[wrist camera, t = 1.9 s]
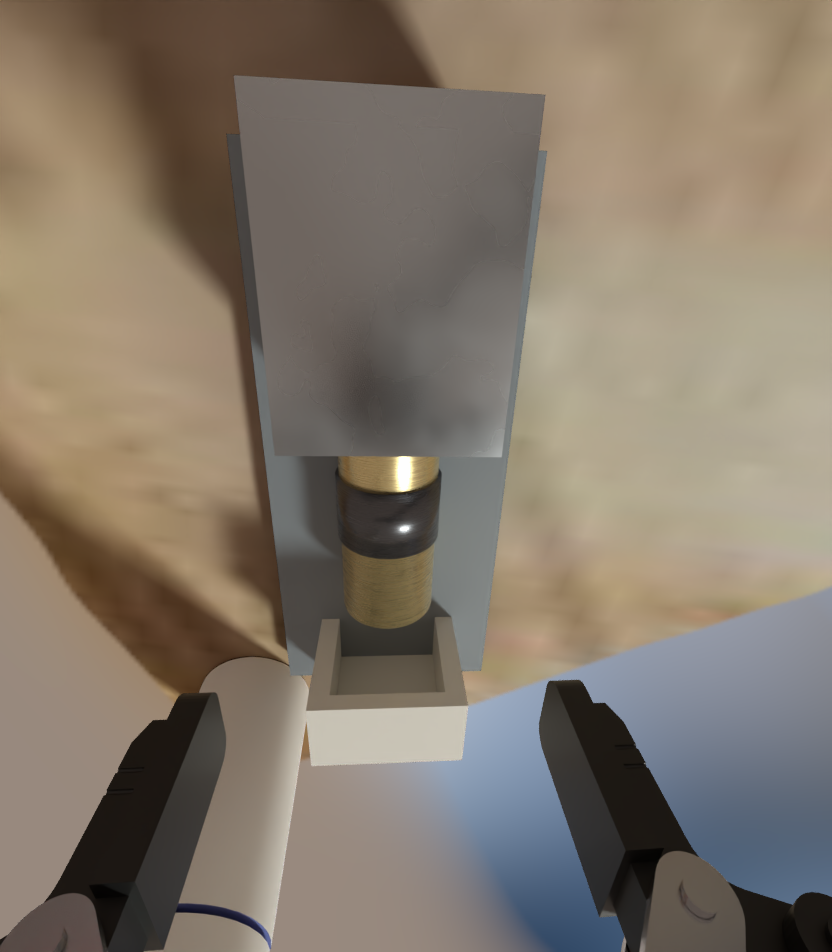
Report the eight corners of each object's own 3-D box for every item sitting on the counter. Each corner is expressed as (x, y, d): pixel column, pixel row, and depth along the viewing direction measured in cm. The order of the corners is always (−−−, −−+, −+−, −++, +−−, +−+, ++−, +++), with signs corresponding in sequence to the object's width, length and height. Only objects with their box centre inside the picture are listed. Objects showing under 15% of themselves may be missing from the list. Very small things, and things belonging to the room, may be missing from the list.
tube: (329, 186, 17) (310, 160, 13) (450, 192, 18) (470, 168, 13) (345, 569, 25) (336, 631, 21) (429, 568, 25) (438, 630, 21)
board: (238, 143, 18) (226, 133, 16) (535, 159, 19) (546, 151, 17) (294, 656, 29) (290, 675, 28) (476, 652, 30) (480, 670, 29)
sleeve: (288, 143, 17) (233, 75, 11) (489, 154, 17) (545, 94, 11) (306, 401, 21) (274, 455, 15) (469, 404, 21) (501, 457, 15)
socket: (322, 619, 26) (305, 711, 21) (451, 616, 27) (468, 705, 21) (325, 668, 28) (311, 765, 23) (447, 665, 28) (461, 759, 23)
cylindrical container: (301, 735, 33) (131, 1803, 10) (198, 726, 31) (-267, 1920, 9) (317, 663, 30) (128, 1915, 7) (203, 650, 29) (-455, 2106, 6)
